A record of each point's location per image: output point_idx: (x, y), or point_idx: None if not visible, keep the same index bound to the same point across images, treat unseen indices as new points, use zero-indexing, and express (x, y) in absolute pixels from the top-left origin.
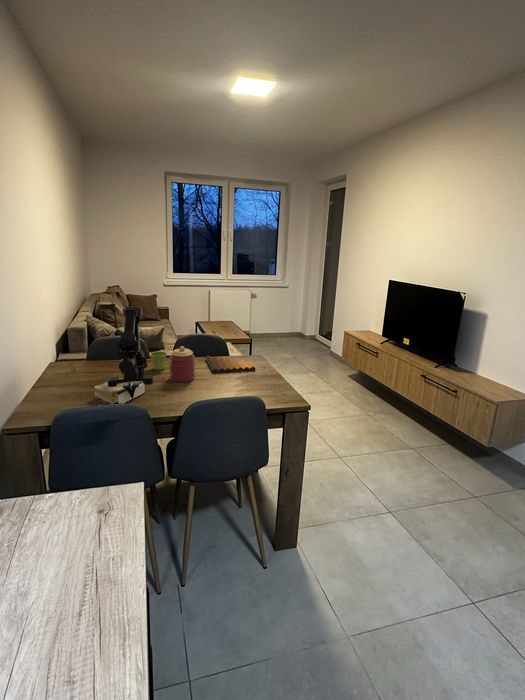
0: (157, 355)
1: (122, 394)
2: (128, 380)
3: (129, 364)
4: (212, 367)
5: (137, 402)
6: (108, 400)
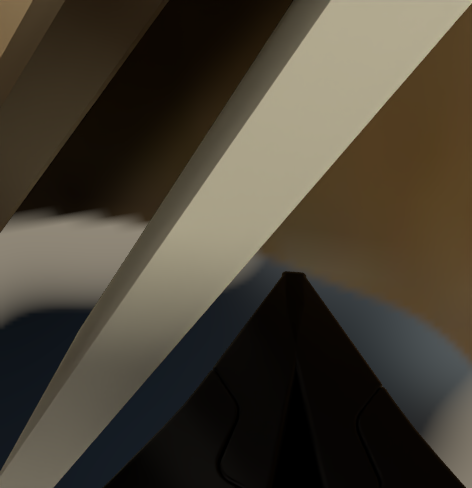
0: None
1: (65, 469)
2: None
3: None
4: None
5: (374, 241)
6: None
